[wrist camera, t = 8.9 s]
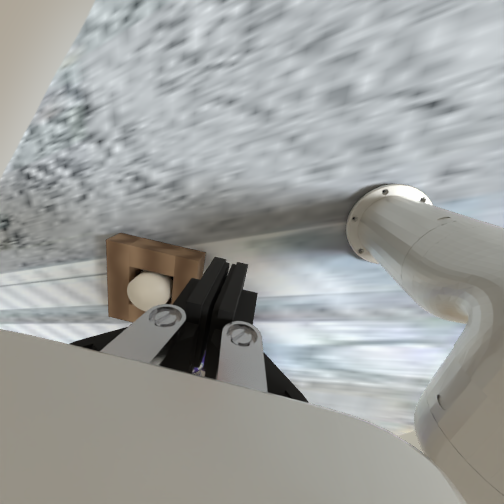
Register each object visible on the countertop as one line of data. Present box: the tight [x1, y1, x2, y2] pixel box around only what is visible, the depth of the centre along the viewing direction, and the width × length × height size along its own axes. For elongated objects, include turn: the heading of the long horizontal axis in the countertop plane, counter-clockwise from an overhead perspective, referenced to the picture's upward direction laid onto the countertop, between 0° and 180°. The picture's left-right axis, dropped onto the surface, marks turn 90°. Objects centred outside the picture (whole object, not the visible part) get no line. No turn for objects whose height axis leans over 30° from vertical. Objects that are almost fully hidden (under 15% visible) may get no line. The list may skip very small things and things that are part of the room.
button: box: [127, 270, 173, 311], centre depth 43 cm, size 7×7×4 cm
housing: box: [106, 233, 206, 322], centre depth 45 cm, size 16×16×4 cm
